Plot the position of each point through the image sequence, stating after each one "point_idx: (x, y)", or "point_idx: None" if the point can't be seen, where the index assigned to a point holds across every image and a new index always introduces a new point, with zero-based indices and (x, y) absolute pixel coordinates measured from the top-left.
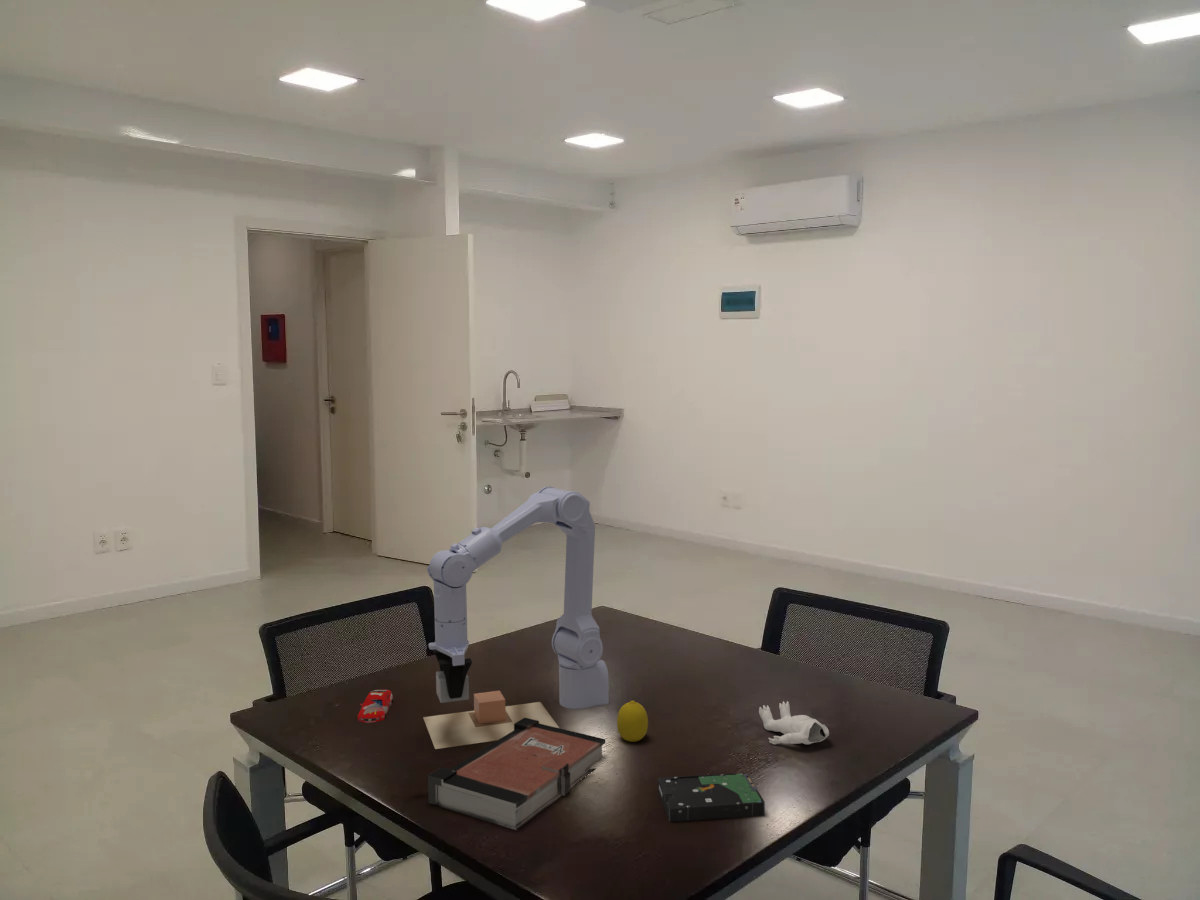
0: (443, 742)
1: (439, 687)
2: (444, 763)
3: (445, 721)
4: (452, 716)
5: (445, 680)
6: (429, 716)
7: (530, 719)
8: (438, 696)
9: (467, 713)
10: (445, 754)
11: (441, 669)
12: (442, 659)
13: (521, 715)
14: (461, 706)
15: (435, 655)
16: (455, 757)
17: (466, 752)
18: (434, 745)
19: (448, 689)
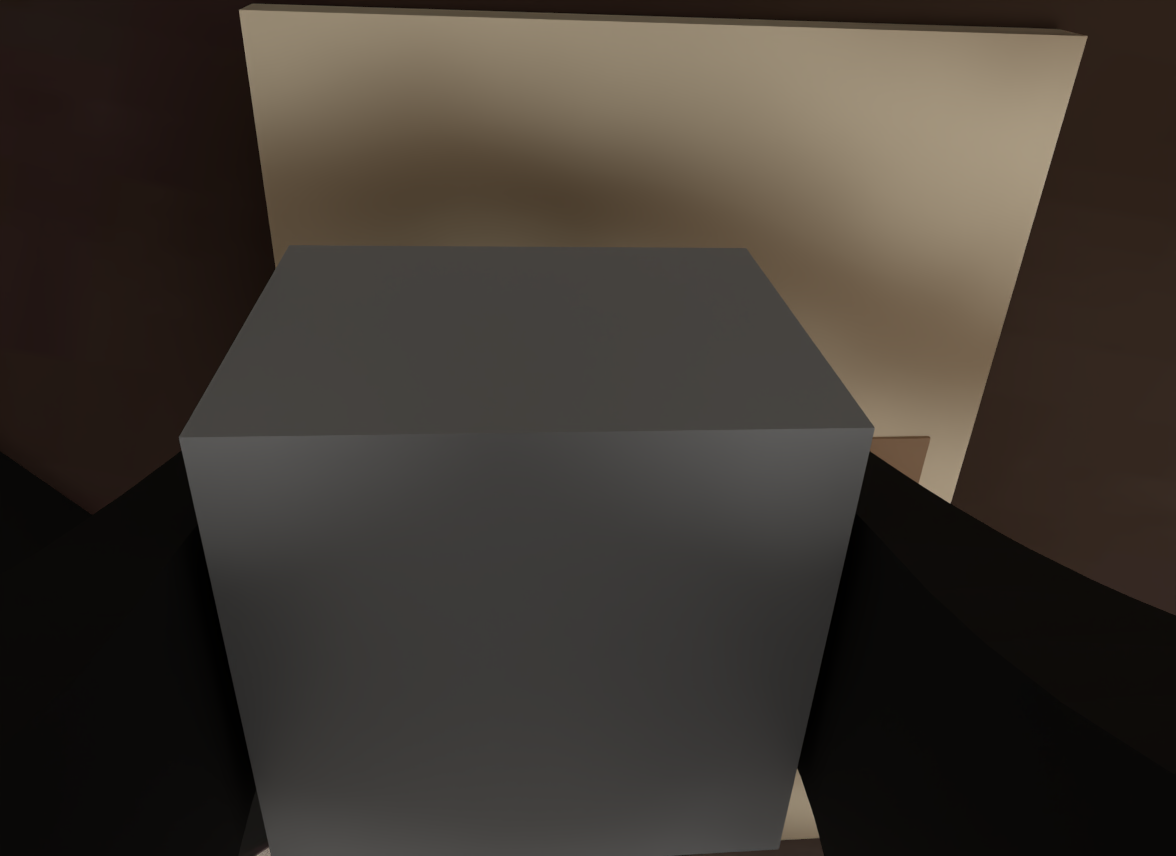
0: (381, 123)
1: (372, 339)
2: (27, 53)
3: (865, 230)
4: (940, 307)
5: (209, 539)
6: (1064, 104)
7: (263, 841)
8: (534, 253)
9: (930, 428)
10: (239, 102)
11: (877, 559)
12: (980, 775)
13: None
14: (1169, 404)
15: (1134, 756)
16: (154, 178)
17: (244, 285)
18: (331, 18)
19: (152, 479)
